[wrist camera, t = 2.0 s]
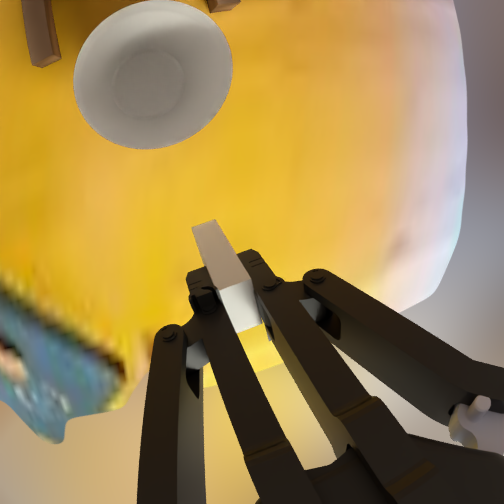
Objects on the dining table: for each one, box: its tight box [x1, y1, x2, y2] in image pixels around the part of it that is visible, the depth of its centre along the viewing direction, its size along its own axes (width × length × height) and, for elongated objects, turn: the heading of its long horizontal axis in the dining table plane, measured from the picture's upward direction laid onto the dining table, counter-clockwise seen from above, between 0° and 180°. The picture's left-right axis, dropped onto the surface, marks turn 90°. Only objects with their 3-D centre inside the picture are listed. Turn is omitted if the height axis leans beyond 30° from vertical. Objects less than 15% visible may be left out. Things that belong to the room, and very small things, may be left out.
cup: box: [73, 0, 232, 149], centre depth 18 cm, size 9×9×12 cm
